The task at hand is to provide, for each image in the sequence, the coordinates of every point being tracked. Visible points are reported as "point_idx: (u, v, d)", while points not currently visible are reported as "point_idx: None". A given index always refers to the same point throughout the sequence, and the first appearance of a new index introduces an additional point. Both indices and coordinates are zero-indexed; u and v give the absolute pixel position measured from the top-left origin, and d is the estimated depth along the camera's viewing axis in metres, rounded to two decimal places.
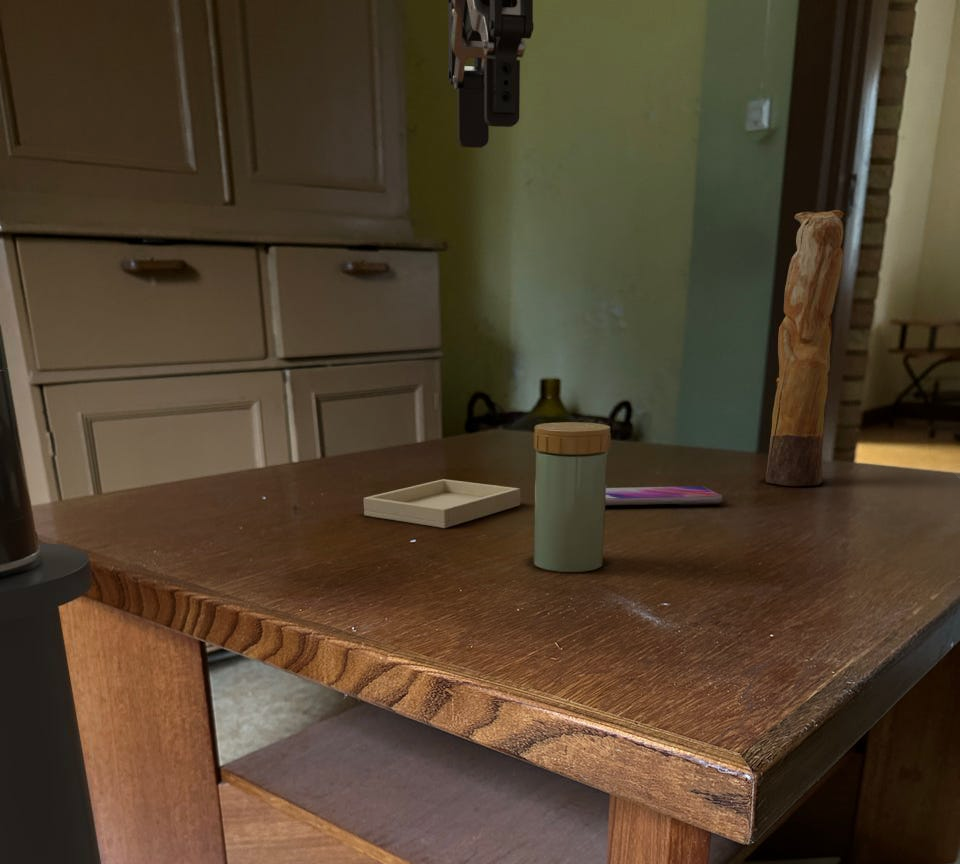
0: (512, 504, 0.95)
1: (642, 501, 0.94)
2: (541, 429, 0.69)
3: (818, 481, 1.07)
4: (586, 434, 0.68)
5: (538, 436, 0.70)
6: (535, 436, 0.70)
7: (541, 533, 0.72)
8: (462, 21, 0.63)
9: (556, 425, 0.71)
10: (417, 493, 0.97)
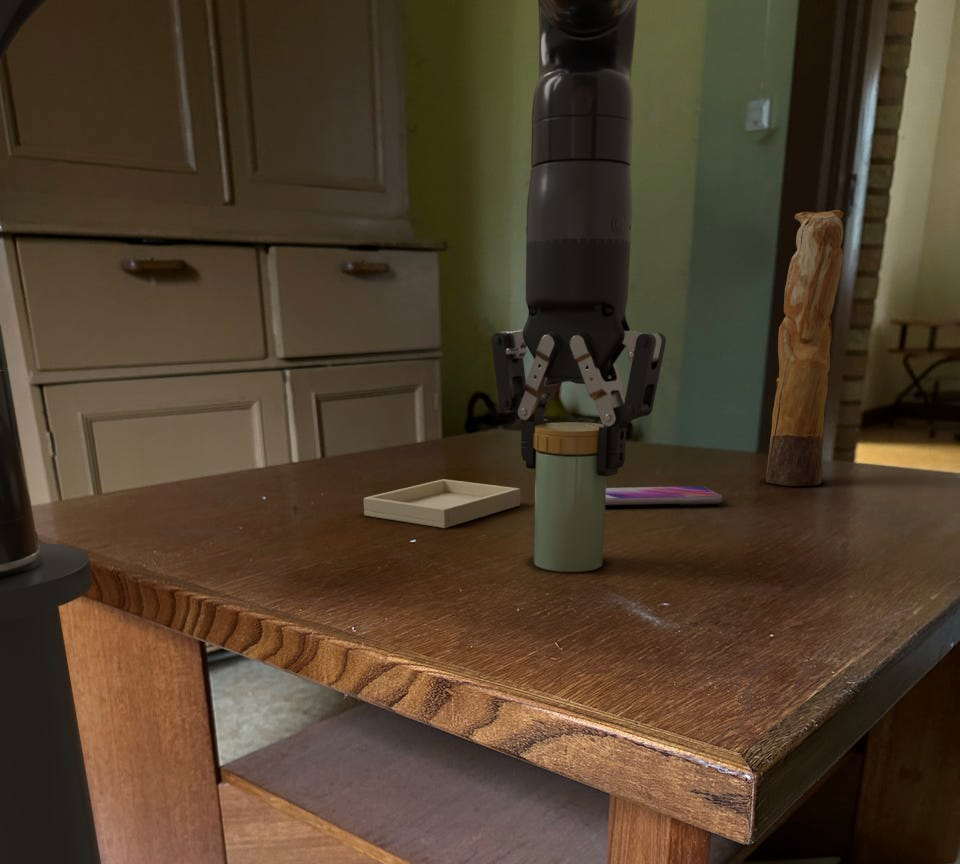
0: (512, 504, 0.95)
1: (642, 501, 0.94)
2: (541, 429, 0.69)
3: (818, 481, 1.07)
4: (586, 434, 0.68)
5: (538, 436, 0.70)
6: (535, 436, 0.70)
7: (541, 533, 0.72)
8: None
9: (556, 425, 0.71)
10: (417, 493, 0.97)
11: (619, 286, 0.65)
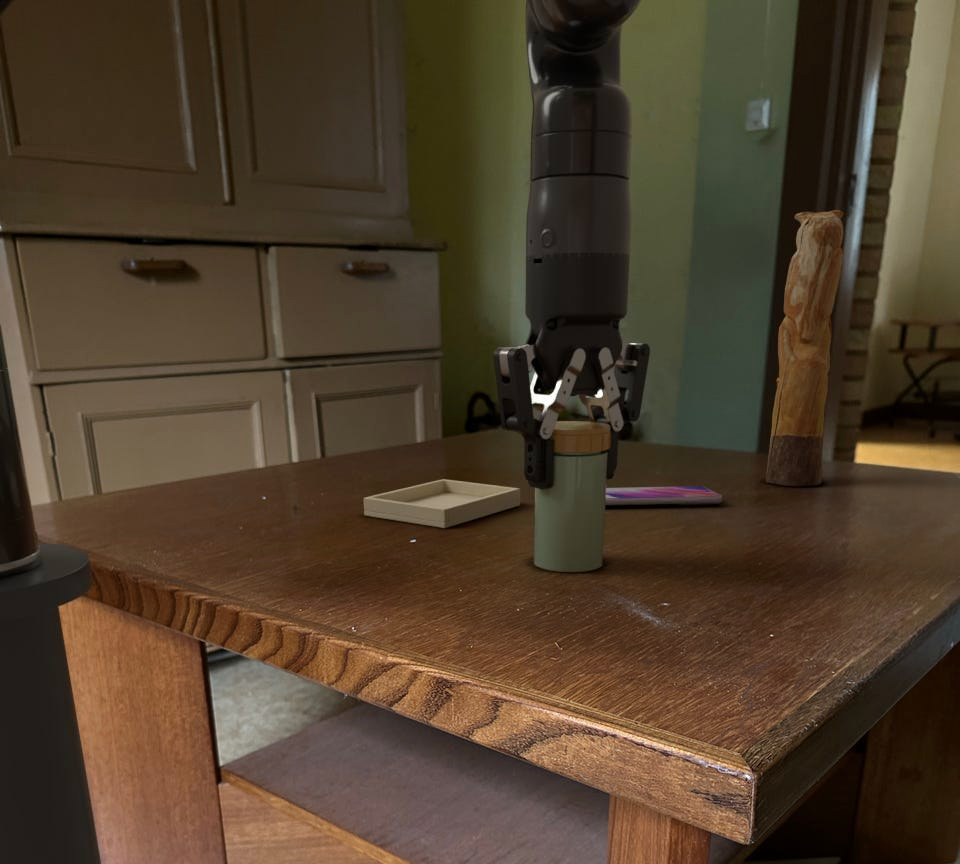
0: (512, 504, 0.95)
1: (642, 501, 0.94)
2: (583, 430, 0.68)
3: (818, 481, 1.07)
4: None
5: (578, 438, 0.68)
6: (570, 439, 0.68)
7: (541, 533, 0.72)
8: None
9: (560, 426, 0.69)
10: (417, 493, 0.97)
11: None
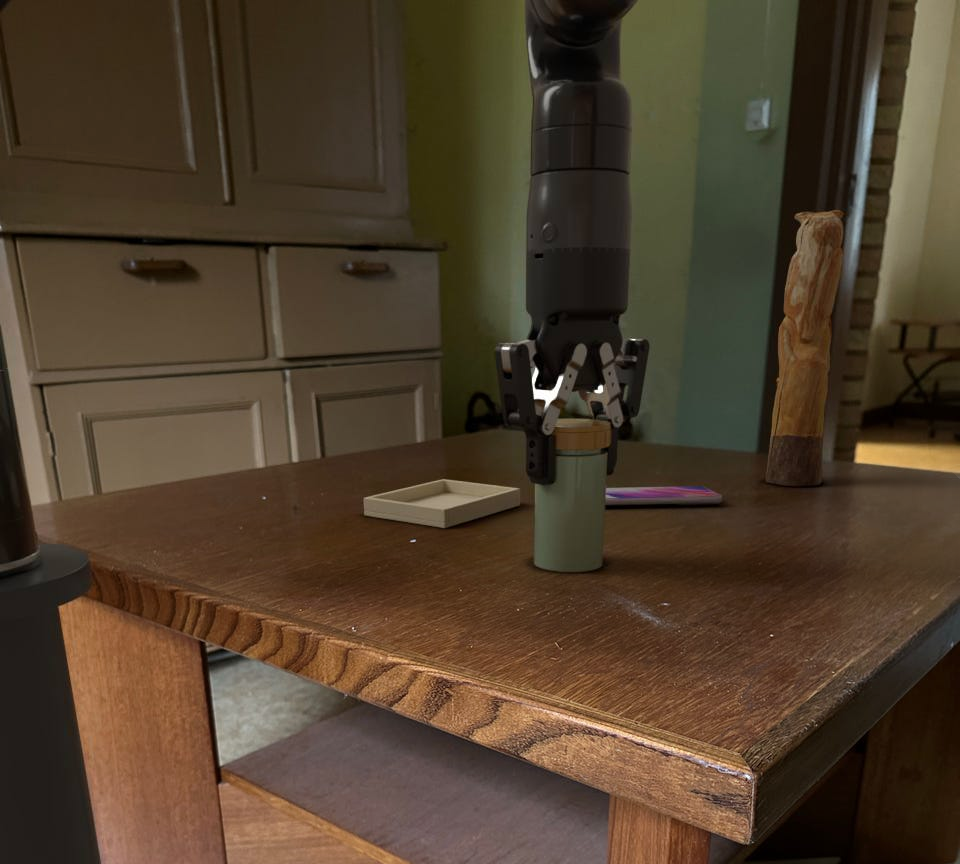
0: (512, 504, 0.95)
1: (642, 501, 0.94)
2: (585, 419, 0.73)
3: (818, 481, 1.07)
4: None
5: None
6: None
7: (541, 533, 0.72)
8: None
9: (589, 422, 0.70)
10: (417, 493, 0.97)
11: None
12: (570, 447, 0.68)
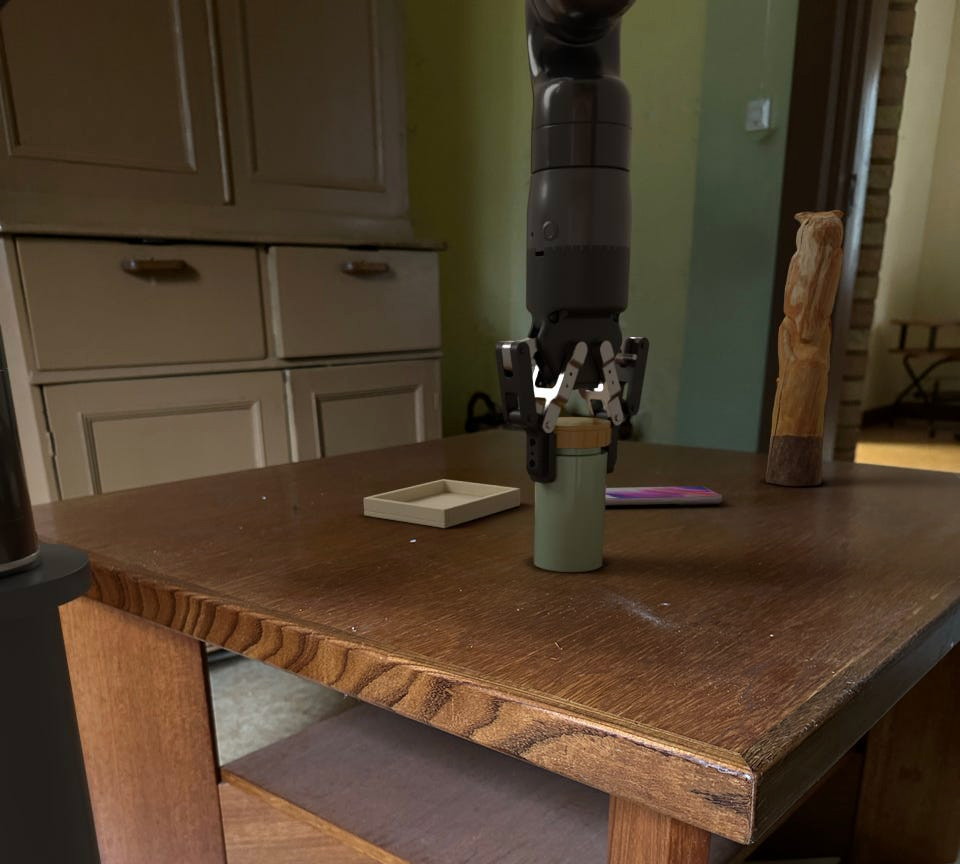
0: (512, 504, 0.95)
1: (642, 501, 0.94)
2: None
3: (818, 481, 1.07)
4: None
5: None
6: None
7: (541, 533, 0.72)
8: None
9: (575, 419, 0.71)
10: (417, 493, 0.97)
11: None
12: (607, 443, 0.70)
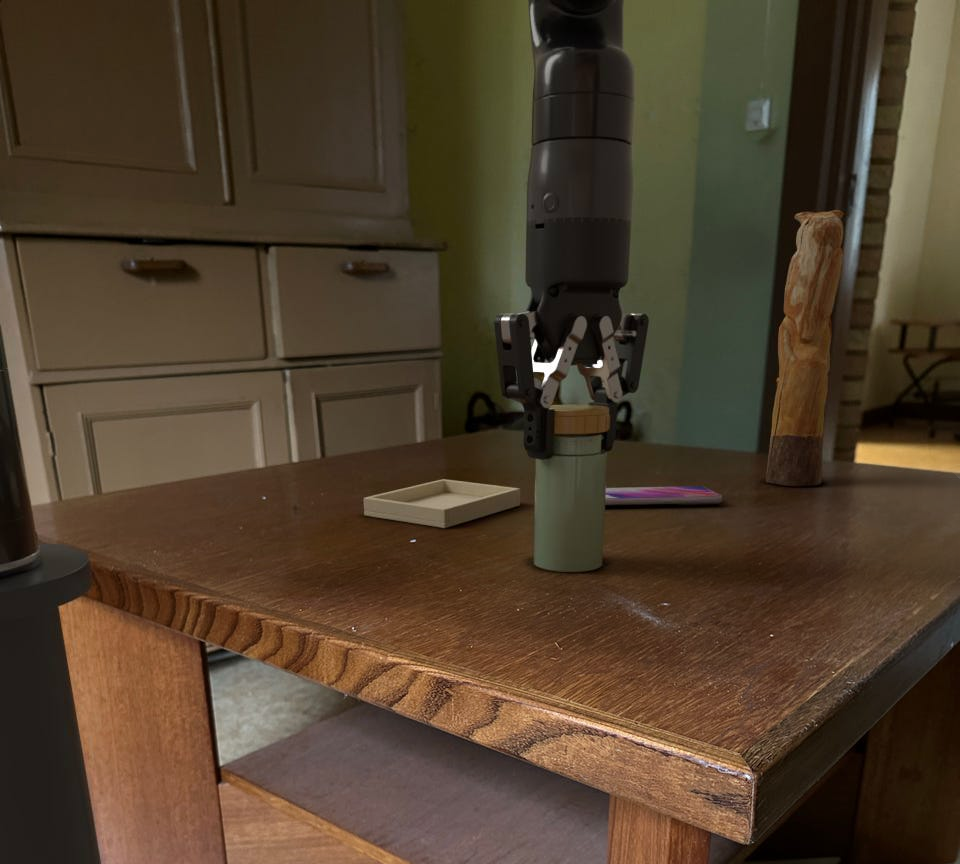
0: (512, 504, 0.95)
1: (642, 501, 0.94)
2: None
3: (818, 481, 1.07)
4: (582, 414, 0.67)
5: None
6: None
7: (541, 533, 0.72)
8: None
9: (555, 406, 0.71)
10: (417, 493, 0.97)
11: None
12: None
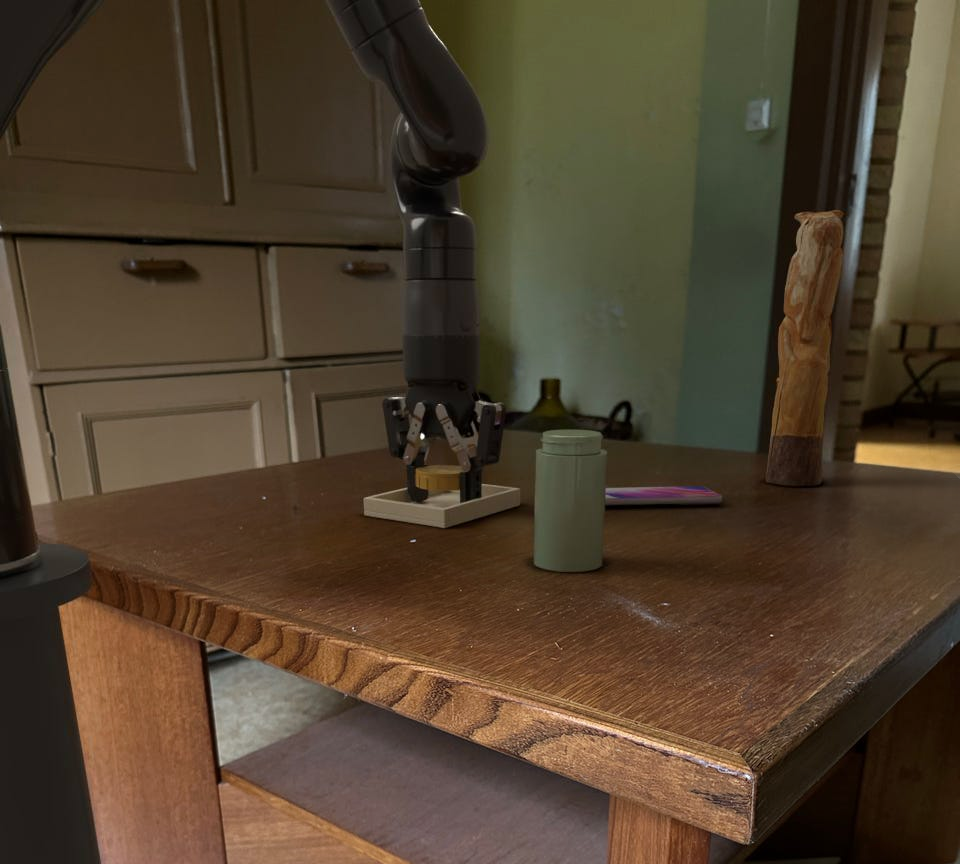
0: (512, 504, 0.95)
1: (642, 501, 0.94)
2: (426, 466, 0.95)
3: (818, 481, 1.07)
4: (418, 473, 0.91)
5: None
6: None
7: (541, 533, 0.72)
8: None
9: (448, 467, 0.94)
10: None
11: (470, 368, 0.87)
12: None
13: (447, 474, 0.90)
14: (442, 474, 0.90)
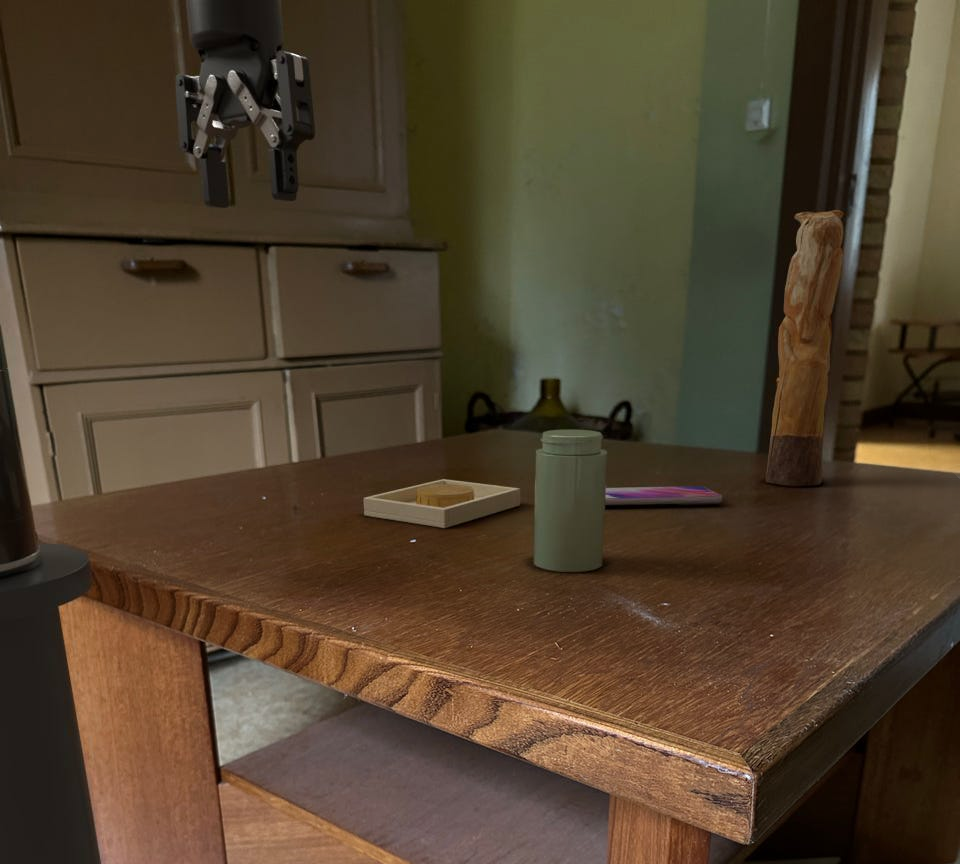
0: (512, 504, 0.95)
1: (642, 501, 0.94)
2: None
3: (818, 481, 1.07)
4: (419, 494, 0.92)
5: None
6: None
7: (541, 533, 0.72)
8: None
9: (449, 486, 0.94)
10: None
11: (263, 22, 0.72)
12: None
13: (448, 495, 0.90)
14: (443, 495, 0.90)
